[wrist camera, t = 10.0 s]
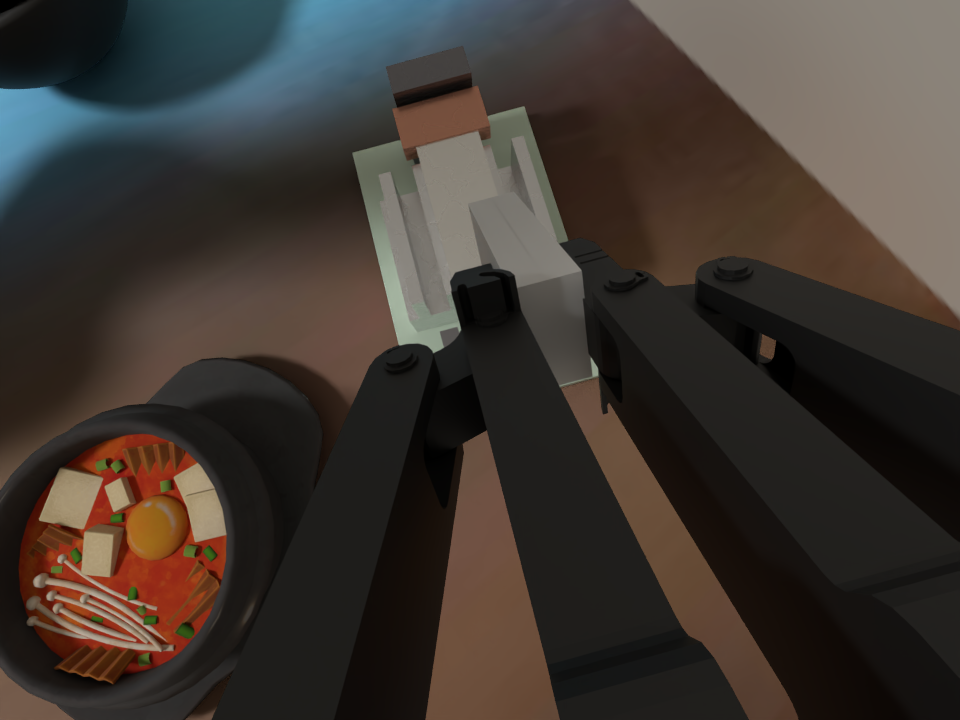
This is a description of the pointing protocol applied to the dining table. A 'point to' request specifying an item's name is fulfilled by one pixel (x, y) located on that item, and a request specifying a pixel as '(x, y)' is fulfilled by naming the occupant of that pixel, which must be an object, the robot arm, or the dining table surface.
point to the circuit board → (395, 162)
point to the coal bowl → (55, 39)
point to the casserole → (153, 541)
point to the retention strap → (451, 165)
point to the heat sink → (413, 212)
